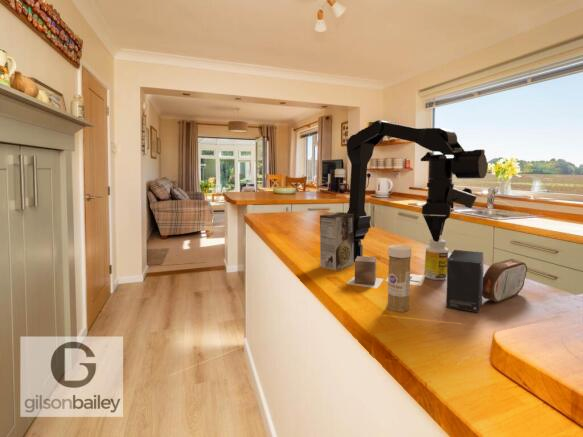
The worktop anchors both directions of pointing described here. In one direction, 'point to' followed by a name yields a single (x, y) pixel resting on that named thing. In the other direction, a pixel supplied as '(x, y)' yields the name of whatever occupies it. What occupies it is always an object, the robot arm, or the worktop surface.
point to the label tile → (415, 279)
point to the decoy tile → (377, 283)
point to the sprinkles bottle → (399, 277)
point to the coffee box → (336, 240)
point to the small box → (464, 280)
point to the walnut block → (365, 270)
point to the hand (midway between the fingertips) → (437, 238)
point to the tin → (504, 280)
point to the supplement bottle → (436, 260)
